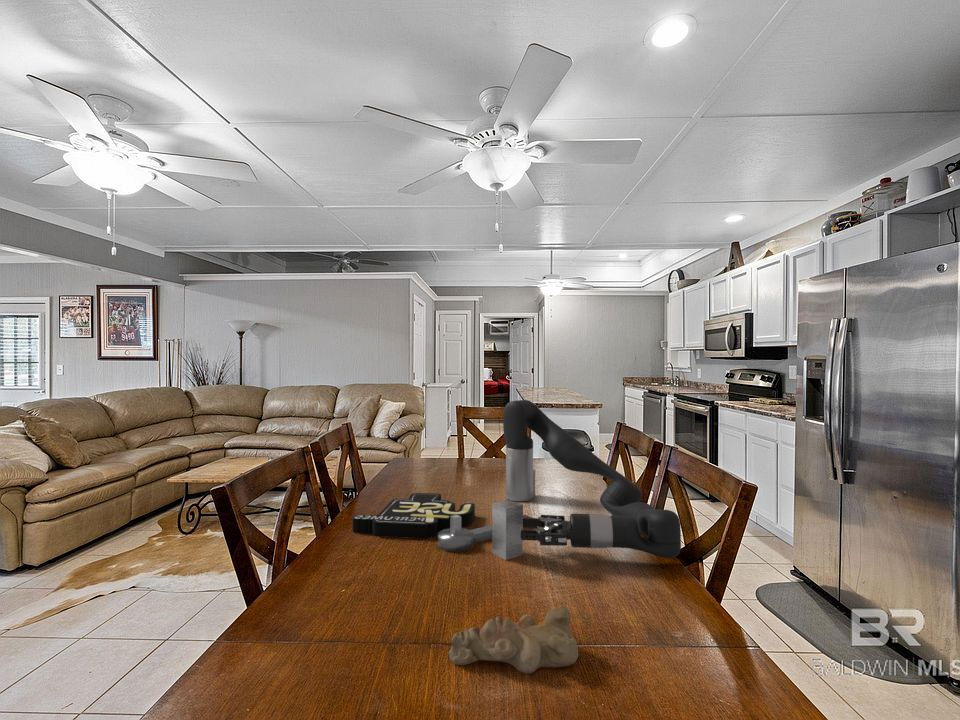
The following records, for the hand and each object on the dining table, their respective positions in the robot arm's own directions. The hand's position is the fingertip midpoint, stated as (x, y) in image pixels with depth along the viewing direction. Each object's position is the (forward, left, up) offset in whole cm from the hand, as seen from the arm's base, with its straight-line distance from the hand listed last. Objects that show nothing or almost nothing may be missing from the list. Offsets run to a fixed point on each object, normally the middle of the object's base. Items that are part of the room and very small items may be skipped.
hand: (521, 528), depth 115 cm
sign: (+7, -38, -7) cm, 39 cm away
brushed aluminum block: (+2, -3, -7) cm, 7 cm away
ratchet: (-1, -15, -7) cm, 16 cm away
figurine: (+27, +28, -7) cm, 40 cm away
